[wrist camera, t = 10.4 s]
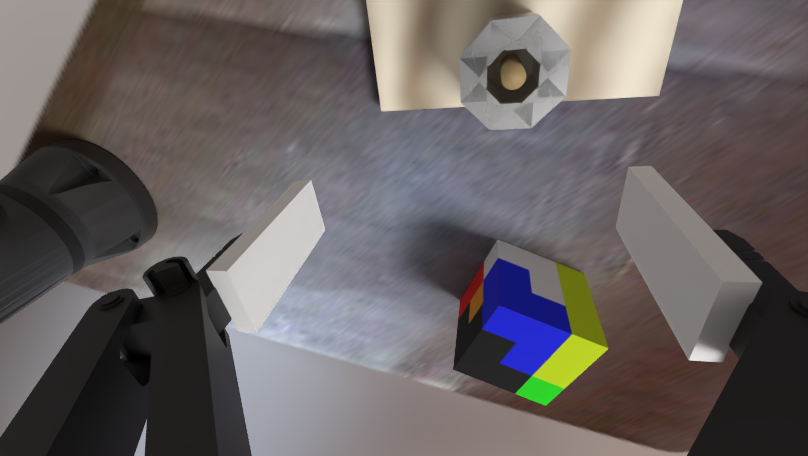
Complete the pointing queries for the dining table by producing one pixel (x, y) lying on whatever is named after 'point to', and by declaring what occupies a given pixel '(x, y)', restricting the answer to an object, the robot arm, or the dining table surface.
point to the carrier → (560, 7)
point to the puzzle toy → (527, 324)
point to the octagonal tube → (539, 87)
